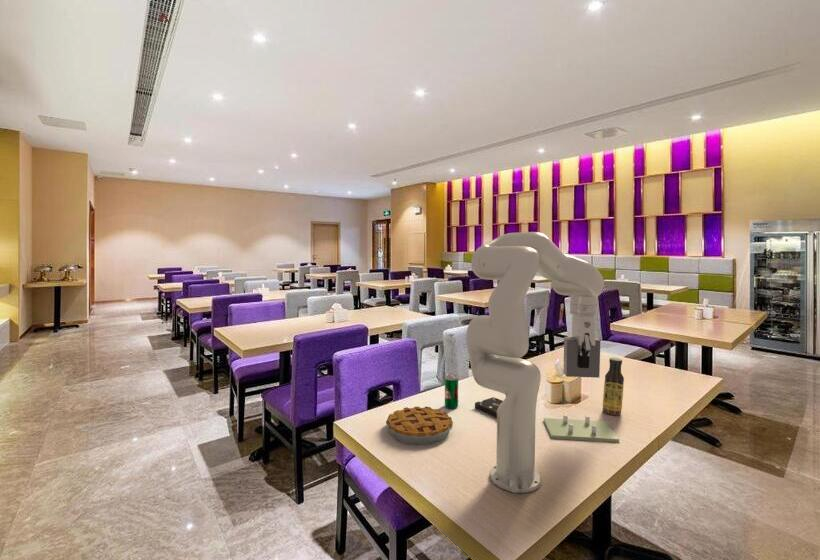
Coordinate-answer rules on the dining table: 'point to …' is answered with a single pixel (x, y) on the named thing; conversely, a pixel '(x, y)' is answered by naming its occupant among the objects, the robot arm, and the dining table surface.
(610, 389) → the sauce bottle
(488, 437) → the dining table surface
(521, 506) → the dining table surface
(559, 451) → the dining table surface
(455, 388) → the soda can
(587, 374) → the dark grey thick block
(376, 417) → the dining table surface
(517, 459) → the robot arm
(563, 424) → the dock
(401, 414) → the pie
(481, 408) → the disk drive
